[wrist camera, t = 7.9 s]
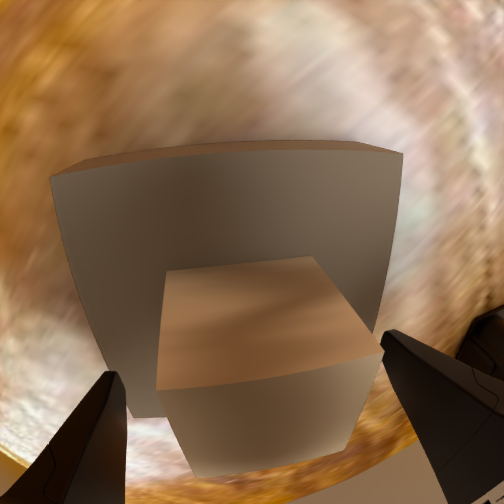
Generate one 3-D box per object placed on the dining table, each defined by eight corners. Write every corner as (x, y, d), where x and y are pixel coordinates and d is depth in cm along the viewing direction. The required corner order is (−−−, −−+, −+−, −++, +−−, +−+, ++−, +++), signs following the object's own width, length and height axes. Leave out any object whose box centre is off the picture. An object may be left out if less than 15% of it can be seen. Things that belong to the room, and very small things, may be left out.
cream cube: (311, 255, 11) (384, 351, 6) (302, 356, 13) (343, 450, 8) (166, 271, 10) (155, 390, 5) (188, 373, 12) (196, 477, 8)
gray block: (352, 140, 13) (403, 153, 10) (330, 339, 18) (356, 384, 15) (87, 158, 11) (49, 177, 8) (139, 364, 16) (133, 418, 13)
